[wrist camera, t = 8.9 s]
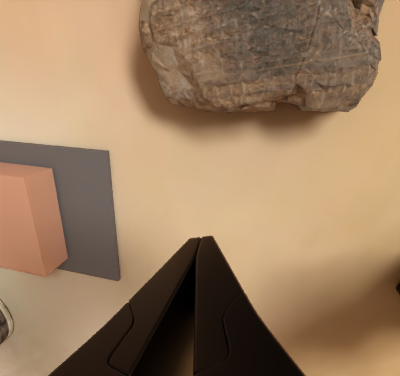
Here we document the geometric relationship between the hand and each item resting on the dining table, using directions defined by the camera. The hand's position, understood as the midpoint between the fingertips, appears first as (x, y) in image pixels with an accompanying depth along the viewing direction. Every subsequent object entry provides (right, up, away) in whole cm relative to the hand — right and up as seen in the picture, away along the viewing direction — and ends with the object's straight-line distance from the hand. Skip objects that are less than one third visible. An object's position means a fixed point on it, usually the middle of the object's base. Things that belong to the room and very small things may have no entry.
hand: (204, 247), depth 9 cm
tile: (-14, -1, +14) cm, 20 cm away
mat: (-16, 0, +17) cm, 23 cm away
